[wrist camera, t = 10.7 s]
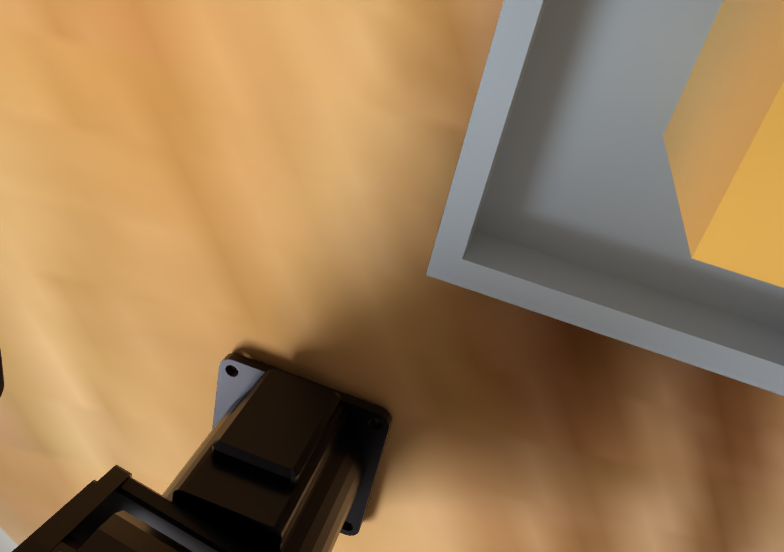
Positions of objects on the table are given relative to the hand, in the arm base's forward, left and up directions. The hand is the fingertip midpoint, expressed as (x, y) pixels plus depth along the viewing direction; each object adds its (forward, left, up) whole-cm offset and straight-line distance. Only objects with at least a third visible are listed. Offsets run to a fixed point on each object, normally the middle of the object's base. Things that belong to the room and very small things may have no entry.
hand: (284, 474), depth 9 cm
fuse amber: (+5, -6, -11) cm, 14 cm away
